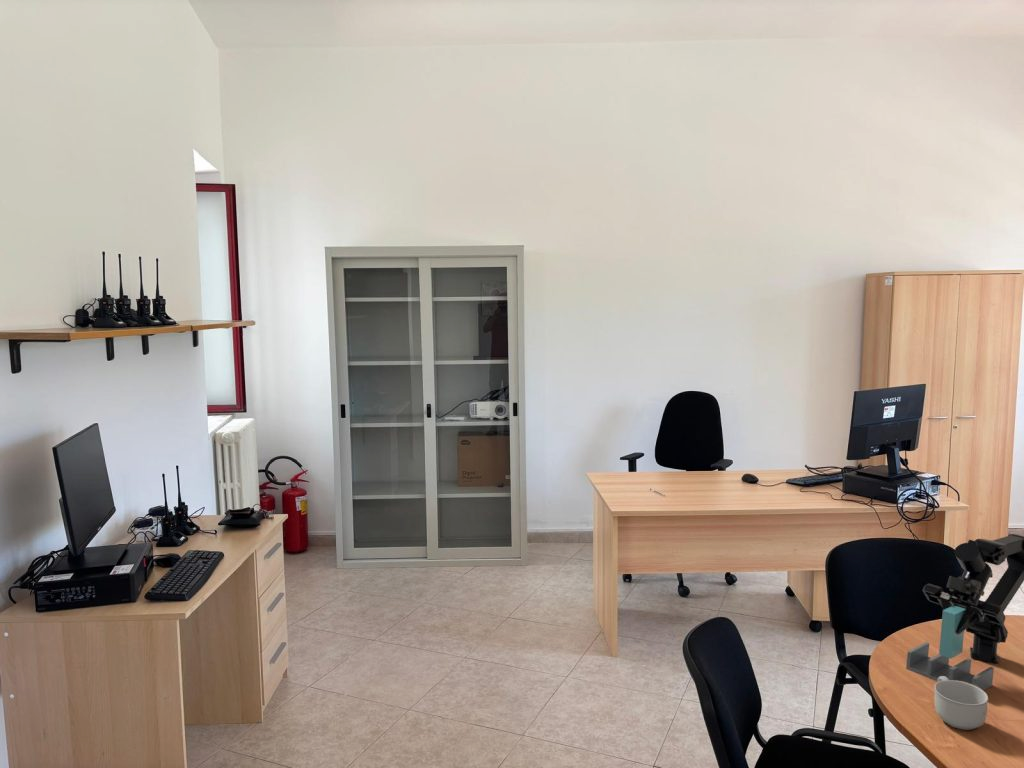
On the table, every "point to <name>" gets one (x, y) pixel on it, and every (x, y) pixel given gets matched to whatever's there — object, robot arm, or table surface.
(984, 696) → the teacup
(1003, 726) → the table surface
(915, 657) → the rack
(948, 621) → the block
